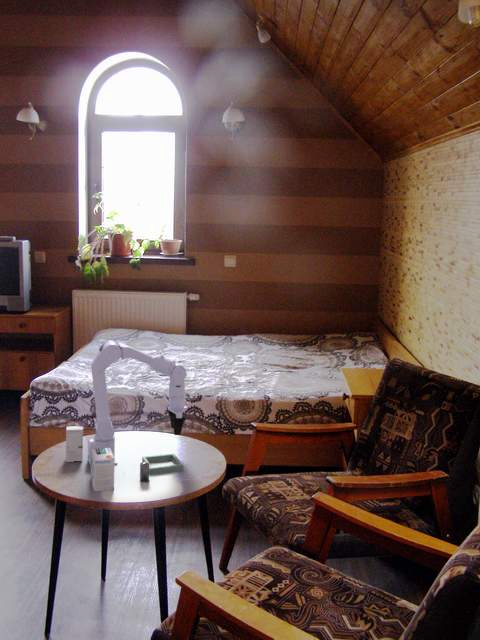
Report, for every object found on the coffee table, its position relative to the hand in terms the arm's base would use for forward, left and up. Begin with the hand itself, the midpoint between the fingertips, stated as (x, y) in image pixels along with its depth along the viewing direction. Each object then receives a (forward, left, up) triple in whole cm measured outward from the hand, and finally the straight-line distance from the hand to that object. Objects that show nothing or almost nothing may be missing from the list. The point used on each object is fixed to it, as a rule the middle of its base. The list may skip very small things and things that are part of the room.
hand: (175, 431), depth 244 cm
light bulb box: (-30, -18, -10) cm, 36 cm away
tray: (-7, -8, -10) cm, 14 cm away
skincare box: (-36, +7, -10) cm, 38 cm away
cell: (-16, -19, -10) cm, 27 cm away
